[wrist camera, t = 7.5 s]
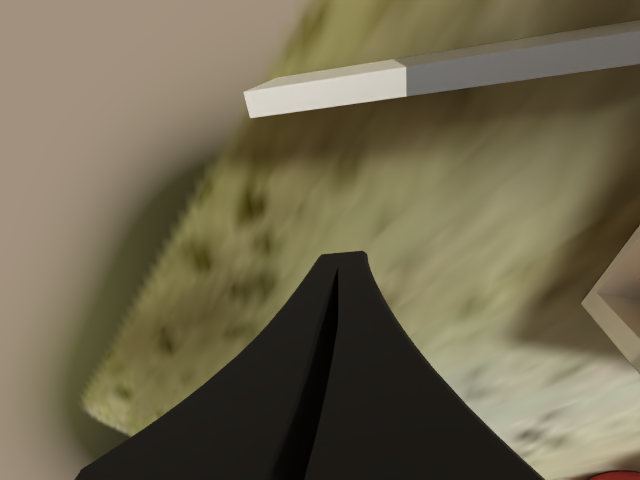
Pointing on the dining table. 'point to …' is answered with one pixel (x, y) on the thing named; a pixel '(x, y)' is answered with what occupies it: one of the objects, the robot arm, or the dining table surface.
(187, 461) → the robot arm
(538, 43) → the side door
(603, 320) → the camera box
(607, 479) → the smoothie
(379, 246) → the dining table surface
